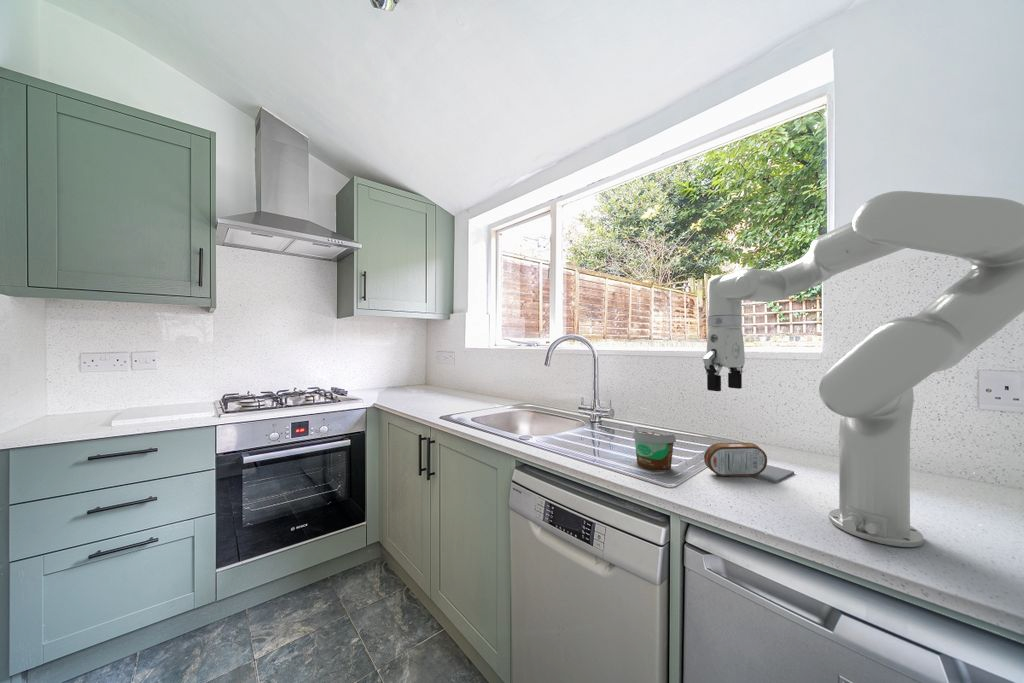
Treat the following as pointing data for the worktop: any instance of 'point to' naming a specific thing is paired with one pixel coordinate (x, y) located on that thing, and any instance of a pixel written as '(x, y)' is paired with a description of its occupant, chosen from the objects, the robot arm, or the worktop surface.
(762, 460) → the tin
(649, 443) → the food container
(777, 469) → the mat
